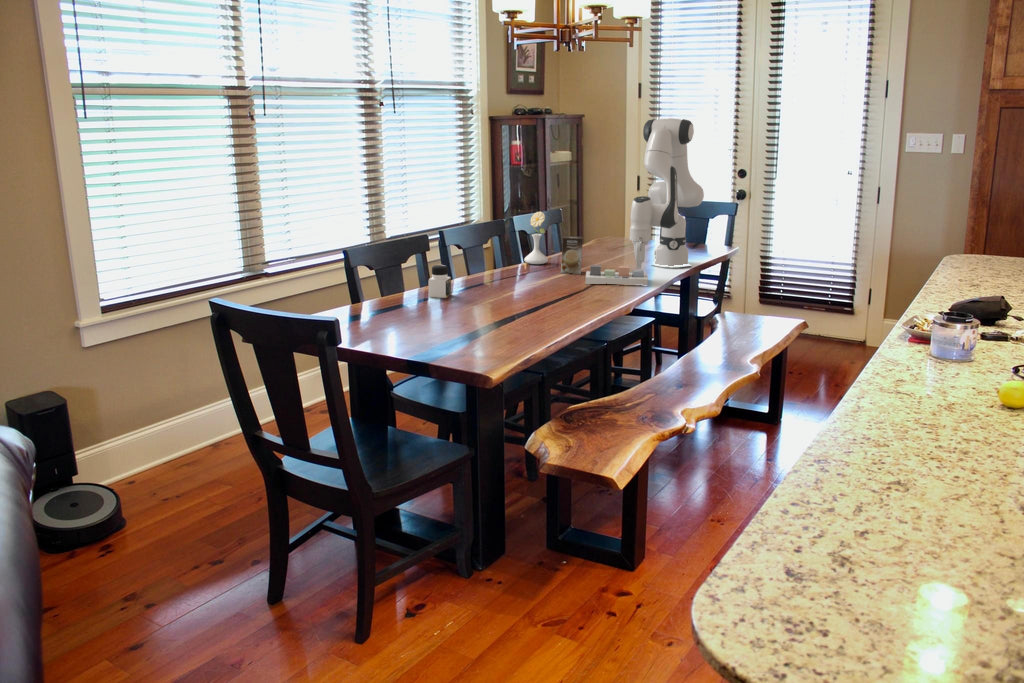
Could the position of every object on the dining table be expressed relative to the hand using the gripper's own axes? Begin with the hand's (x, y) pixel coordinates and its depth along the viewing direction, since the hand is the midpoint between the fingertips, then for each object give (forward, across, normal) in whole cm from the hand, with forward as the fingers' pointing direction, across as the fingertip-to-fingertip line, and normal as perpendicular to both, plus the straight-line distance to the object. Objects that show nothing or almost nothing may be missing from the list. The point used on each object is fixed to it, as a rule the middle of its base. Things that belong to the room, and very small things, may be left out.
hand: (638, 268), depth 365 cm
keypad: (+6, 0, +9) cm, 11 cm away
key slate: (+6, 0, 0) cm, 6 cm away
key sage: (+5, 0, +12) cm, 13 cm away
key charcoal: (+4, 0, +18) cm, 19 cm away
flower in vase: (+7, +36, +46) cm, 59 cm away
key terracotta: (+4, 0, +6) cm, 7 cm away
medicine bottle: (+5, -40, +78) cm, 88 cm away
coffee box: (+6, +18, +29) cm, 35 cm away
